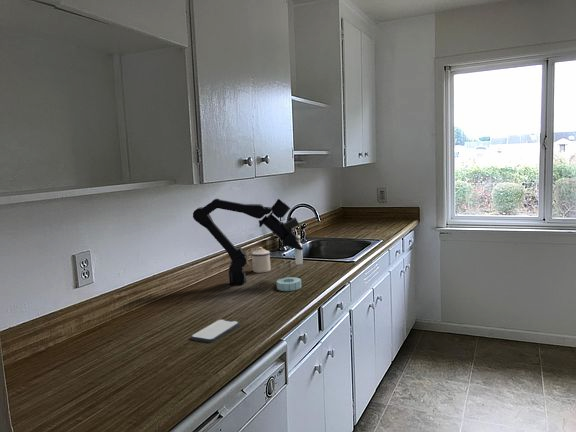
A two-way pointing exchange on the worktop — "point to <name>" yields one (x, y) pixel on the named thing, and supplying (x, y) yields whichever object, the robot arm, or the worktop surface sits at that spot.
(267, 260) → the teacup with lid
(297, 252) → the white rounded peg
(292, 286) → the pale blue segmented ring
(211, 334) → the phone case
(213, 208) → the robot arm
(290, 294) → the worktop surface
